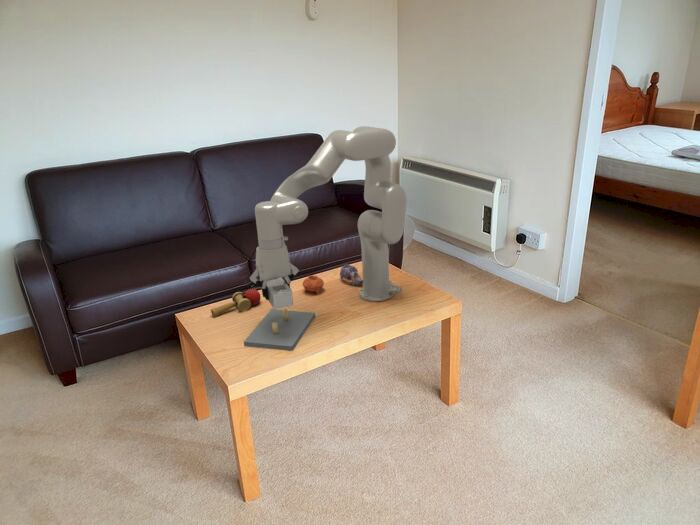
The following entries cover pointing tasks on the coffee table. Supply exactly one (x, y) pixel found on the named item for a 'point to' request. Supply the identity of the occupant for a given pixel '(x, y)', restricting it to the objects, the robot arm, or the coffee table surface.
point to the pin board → (280, 329)
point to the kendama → (239, 302)
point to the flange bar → (279, 293)
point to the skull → (350, 275)
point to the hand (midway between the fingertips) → (276, 295)
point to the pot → (313, 283)
